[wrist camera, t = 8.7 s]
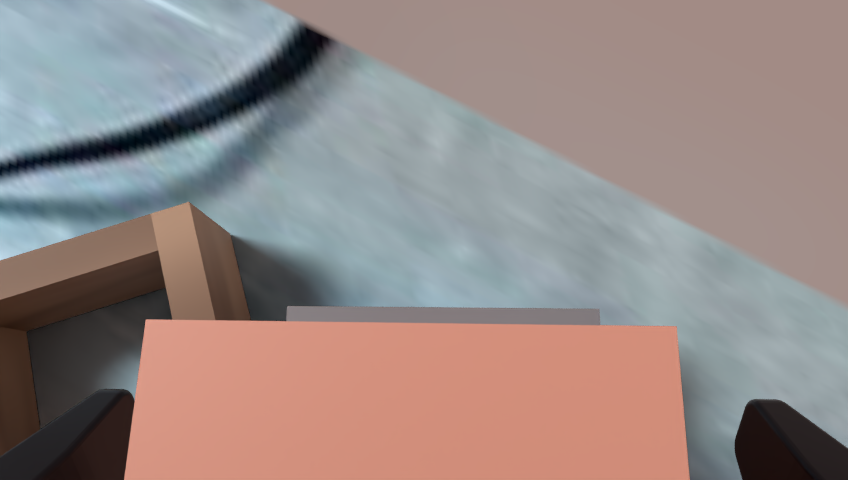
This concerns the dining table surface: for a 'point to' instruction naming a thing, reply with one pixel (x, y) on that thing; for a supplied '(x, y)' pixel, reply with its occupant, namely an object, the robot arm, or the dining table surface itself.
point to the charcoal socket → (444, 315)
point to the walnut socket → (110, 290)
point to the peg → (406, 402)
